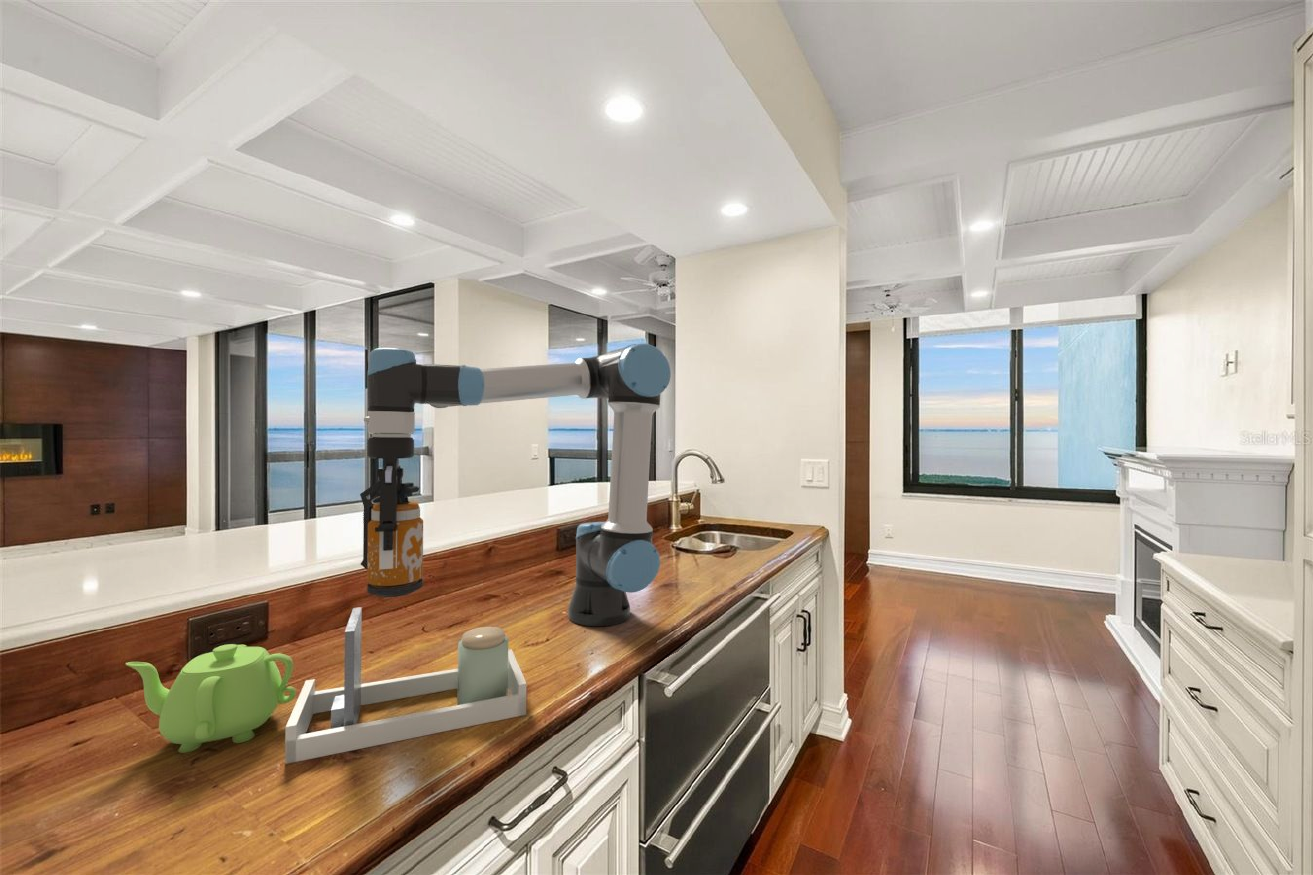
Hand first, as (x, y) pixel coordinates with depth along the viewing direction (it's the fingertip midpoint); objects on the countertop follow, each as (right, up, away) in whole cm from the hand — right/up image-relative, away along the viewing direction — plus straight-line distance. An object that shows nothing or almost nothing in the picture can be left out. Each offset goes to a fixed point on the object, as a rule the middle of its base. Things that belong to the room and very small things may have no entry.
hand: (390, 562), depth 95 cm
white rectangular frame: (+10, -22, -11) cm, 26 cm away
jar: (+19, -22, -6) cm, 29 cm away
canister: (0, -6, 0) cm, 6 cm away
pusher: (+1, -21, -15) cm, 26 cm away
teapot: (-17, -21, -17) cm, 32 cm away
